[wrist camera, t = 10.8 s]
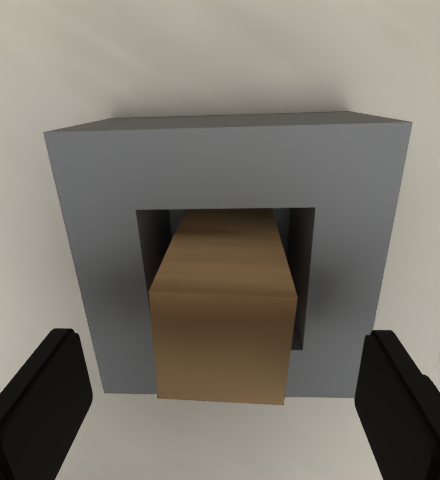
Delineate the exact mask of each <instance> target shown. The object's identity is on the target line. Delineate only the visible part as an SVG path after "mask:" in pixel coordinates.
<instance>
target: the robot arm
mask: <svg viewBox="0 0 440 480" xmlns="http://www.w3.org/2000/svg"><path fill="white" fill-rule="evenodd" d="M92 398H93V392H92V388H91V384H90V379H89V375H88V371H87V367H86V362H85V358H84V354H83V350H82V345H81V341H80V337H79V334H78V333H75V332H74V330H73V329H63V328H55V329H53V330H52V331H51V332H50V333H49V334H48V335H47V336H46V338H45V339H44V340H43V341H42V343H41V344H40V345H39V346H38V348H37V349H36V350H35V351H34V353H33V354H32V355H31V356H30V357H29V359H28V360H27V361H26V362H25V364H24V365H23V366H22V367H21V369H20V370H19V371H18V372H17V373H16V375H15V376H14V377H13V378H12V380H11V381H10V382H9V383H8V385H7V386H6V387H5V388H4V390H3V391H2V392H1V393H0V480H55V478H56V476H57V474H58V472H59V470H60V468H61V466H62V464H63V462H64V460H65V457H66V455H67V453H68V451H69V449H70V447H71V445H72V443H73V441H74V439H75V437H76V435H77V433H78V430H79V428H80V426H81V424H82V422H83V420H84V418H85V416H86V414H87V412H88V410H89V408H90V406H91V403H92ZM355 407H356V410H357V413H358V415H359V418H360V421H361V423H362V426H363V428H364V431H365V433H366V436H367V439H368V441H369V444H370V446H371V449H372V452H373V454H374V457H375V459H376V462H377V464H378V467H379V470H380V472H381V475H382V477H383V480H440V392H439V391H438V389H437V388H436V386H435V385H434V383H433V382H432V381H431V380H430V378H429V377H428V376H426V375H422V373H421V372H420V370H419V369H418V367H417V366H416V364H415V363H414V361H413V360H412V358H411V357H410V356H409V354H408V353H407V351H406V350H405V348H404V347H403V345H402V344H401V342H400V341H399V339H398V338H397V336H396V335H395V333H394V332H393V331H391V330H373V331H371V333H370V335H366V336H365V339H364V344H363V350H362V356H361V362H360V368H359V374H358V380H357V386H356V392H355Z"/></svg>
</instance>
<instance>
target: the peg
mask: <svg viewBox="0 0 440 480" xmlns="http://www.w3.org/2000/svg"><path fill="white" fill-rule="evenodd" d="M297 299H298V297H297V294H296V290H295V287H294V283H293V280H292V276H291V273H290V269H289V266H288V262H287V259H286V255H285V252H284V249H283V245H282V242H281V238H280V235H279V231H278V228H277V224H276V221H275V217H274V214H273V211H272V208H230V209H185V212H184V214H183V216H182V218H181V221H180V223H179V225H178V227H177V229H176V232H175V234H174V236H173V238H172V241H171V243H170V245H169V247H168V249H167V252H166V254H165V256H164V258H163V261H162V263H161V265H160V267H159V269H158V272H157V274H156V276H155V278H154V281H153V283H152V285H151V287H150V289H149V303H150V315H151V327H152V339H153V351H154V363H155V376H156V388H157V398H162V399H181V400H199V401H217V402H236V403H254V404H272V405H284V398H285V390H286V383H287V375H288V368H289V360H290V353H291V345H292V337H293V330H294V322H295V315H296V307H297Z"/></svg>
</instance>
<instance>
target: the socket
mask: <svg viewBox="0 0 440 480" xmlns="http://www.w3.org/2000/svg"><path fill="white" fill-rule="evenodd" d="M411 128H412V122H409V121H403V120H397V119H391V118H385V117H380V116H374V115H368V114H362V113H356V112H350V111H346V112H312V113H278V114H244V115H210V116H177V117H143V118H110V119H106V120H101V121H96V122H91V123H86V124H81V125H76V126H71V127H67V128H62V129H57V130H52V131H47V132H43V133H44V138H45V142H46V146H47V150H48V155H49V159H50V163H51V167H52V172H53V176H54V180H55V184H56V189H57V193H58V197H59V202H60V206H61V210H62V214H63V219H64V223H65V227H66V231H67V236H68V240H69V244H70V248H71V253H72V257H73V261H74V266H75V270H76V274H77V278H78V283H79V287H80V291H81V295H82V300H83V304H84V308H85V313H86V317H87V321H88V325H89V330H90V334H91V338H92V342H93V347H94V351H95V355H96V359H97V364H98V368H99V372H100V377H101V381H102V385H103V389H104V393H125V394H157V388H156V376H155V363H154V351H153V339H152V327H151V315H150V303H149V289H150V287H151V285H152V283H153V281H154V278H155V276H156V274H157V272H158V269H159V267H160V265H161V263H162V261H163V258H164V256H165V254H166V252H167V249H168V247H169V245H170V243H171V241H172V238H173V236H174V234H175V232H176V229H177V227H178V225H179V223H180V221H181V218H182V216H183V214H184V212H185V209H230V208H272V211H273V214H274V217H275V221H276V224H277V228H278V231H279V235H280V238H281V242H282V245H283V249H284V252H285V255H286V259H287V262H288V266H289V269H290V273H291V276H292V280H293V283H294V287H295V290H296V294H297V297H298V299H297V307H296V315H295V322H294V330H293V337H292V345H291V353H290V360H289V368H288V375H287V383H286V390H285V397H331V398H355V392H356V386H357V380H358V374H359V368H360V362H361V356H362V350H363V344H364V339H365V336H366V335H370V333H371V331H373V326H374V321H375V315H376V310H377V305H378V300H379V294H380V289H381V284H382V279H383V274H384V268H385V263H386V258H387V253H388V248H389V242H390V237H391V232H392V227H393V221H394V216H395V211H396V206H397V201H398V195H399V190H400V185H401V180H402V174H403V169H404V164H405V159H406V154H407V148H408V143H409V138H410V133H411Z"/></svg>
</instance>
